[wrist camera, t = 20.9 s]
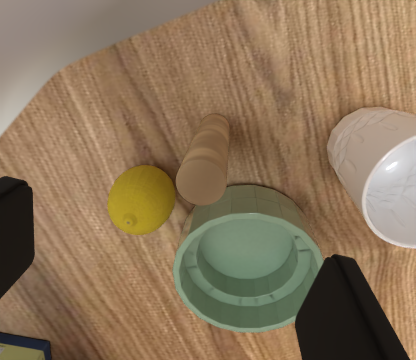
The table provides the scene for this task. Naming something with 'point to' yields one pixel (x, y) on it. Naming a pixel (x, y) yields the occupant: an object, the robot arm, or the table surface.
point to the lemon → (141, 200)
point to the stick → (205, 163)
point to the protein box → (23, 348)
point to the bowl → (246, 260)
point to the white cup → (379, 169)
